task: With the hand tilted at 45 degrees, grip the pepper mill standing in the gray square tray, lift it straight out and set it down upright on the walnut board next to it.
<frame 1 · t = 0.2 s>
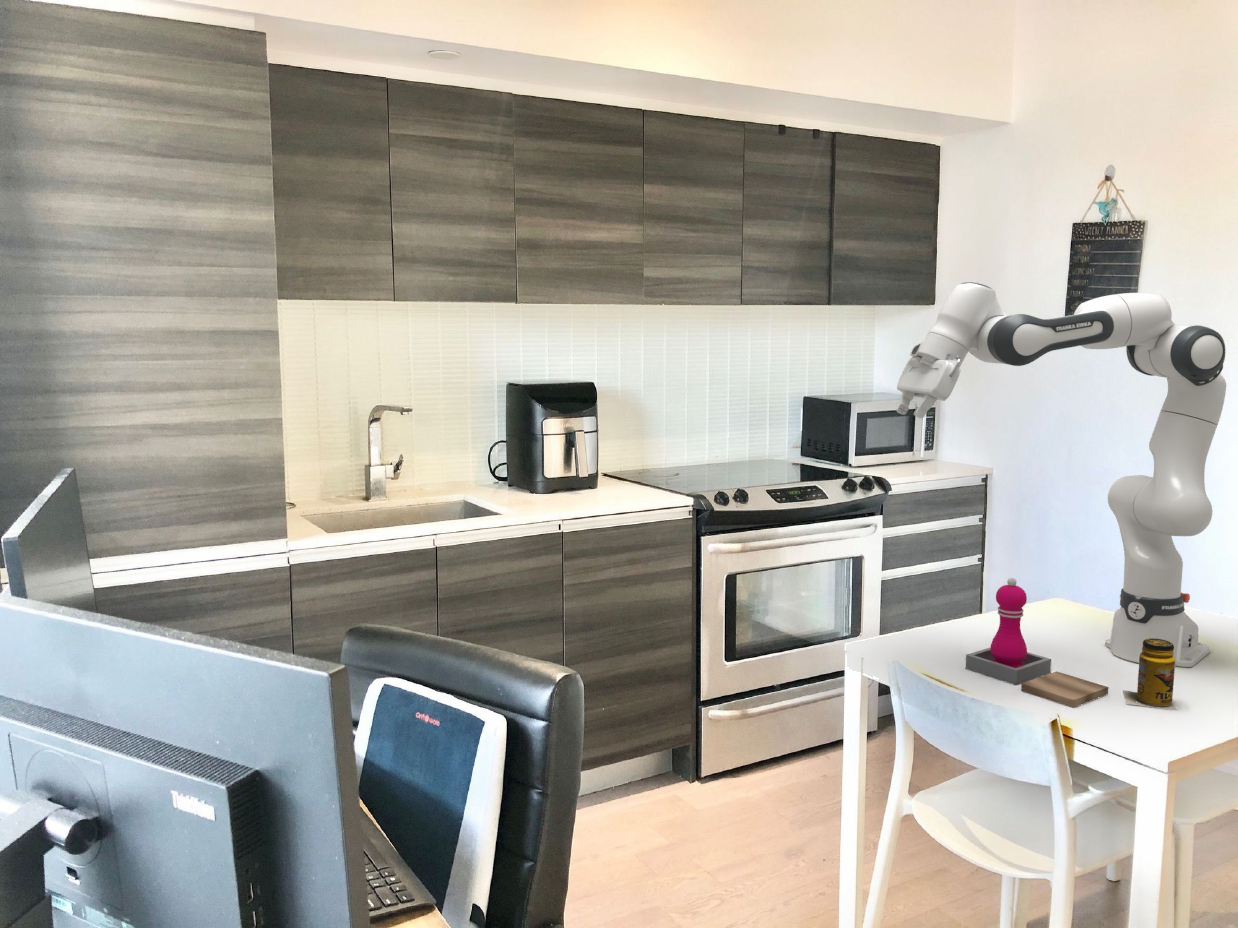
hand: (908, 415, 205), 54 cm above the table, tool tilted 30°, fingers open, 8 cm apart
pepper mill: (1007, 671, 209), resting in gray square tray
condiment: (1148, 702, 192), on the table
gray square tray: (1007, 670, 209), on the table
walnut board: (1064, 692, 197), on the table
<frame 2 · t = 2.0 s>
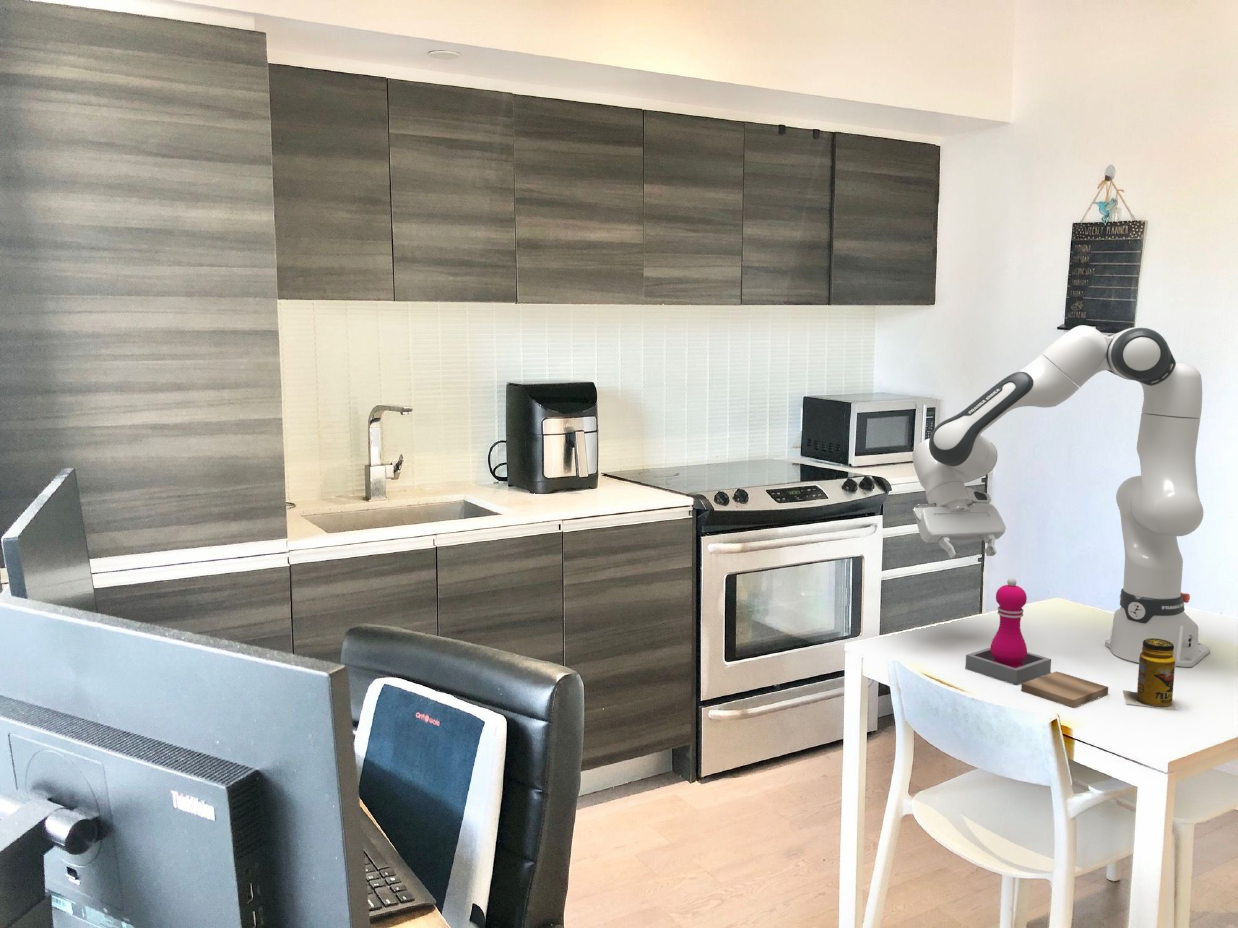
hand: (973, 555, 218), 22 cm above the table, tool tilted 45°, fingers open, 8 cm apart
nothing on the table moved.
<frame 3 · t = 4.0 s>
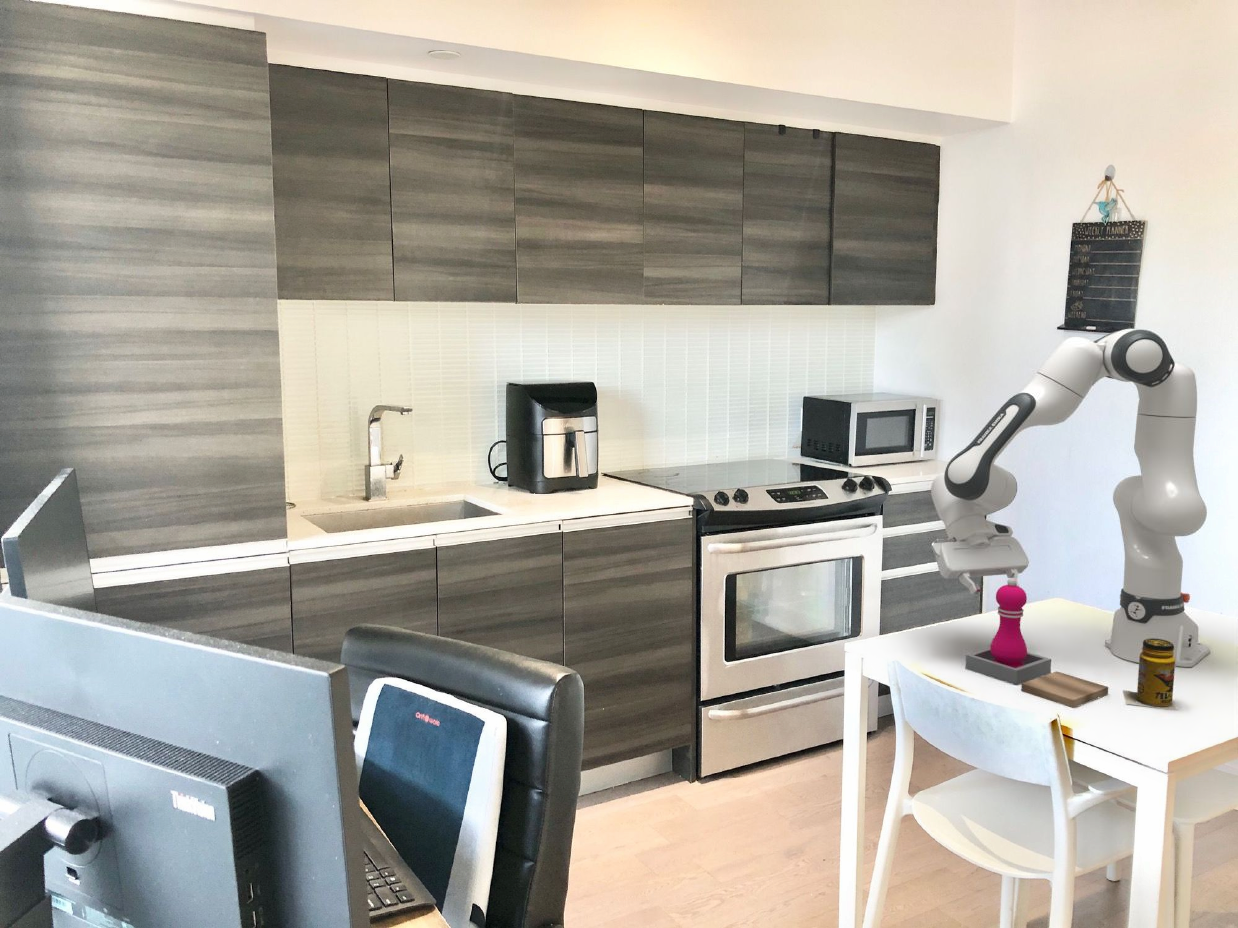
hand: (995, 591, 212), 16 cm above the table, tool tilted 45°, fingers open, 8 cm apart
nothing on the table moved.
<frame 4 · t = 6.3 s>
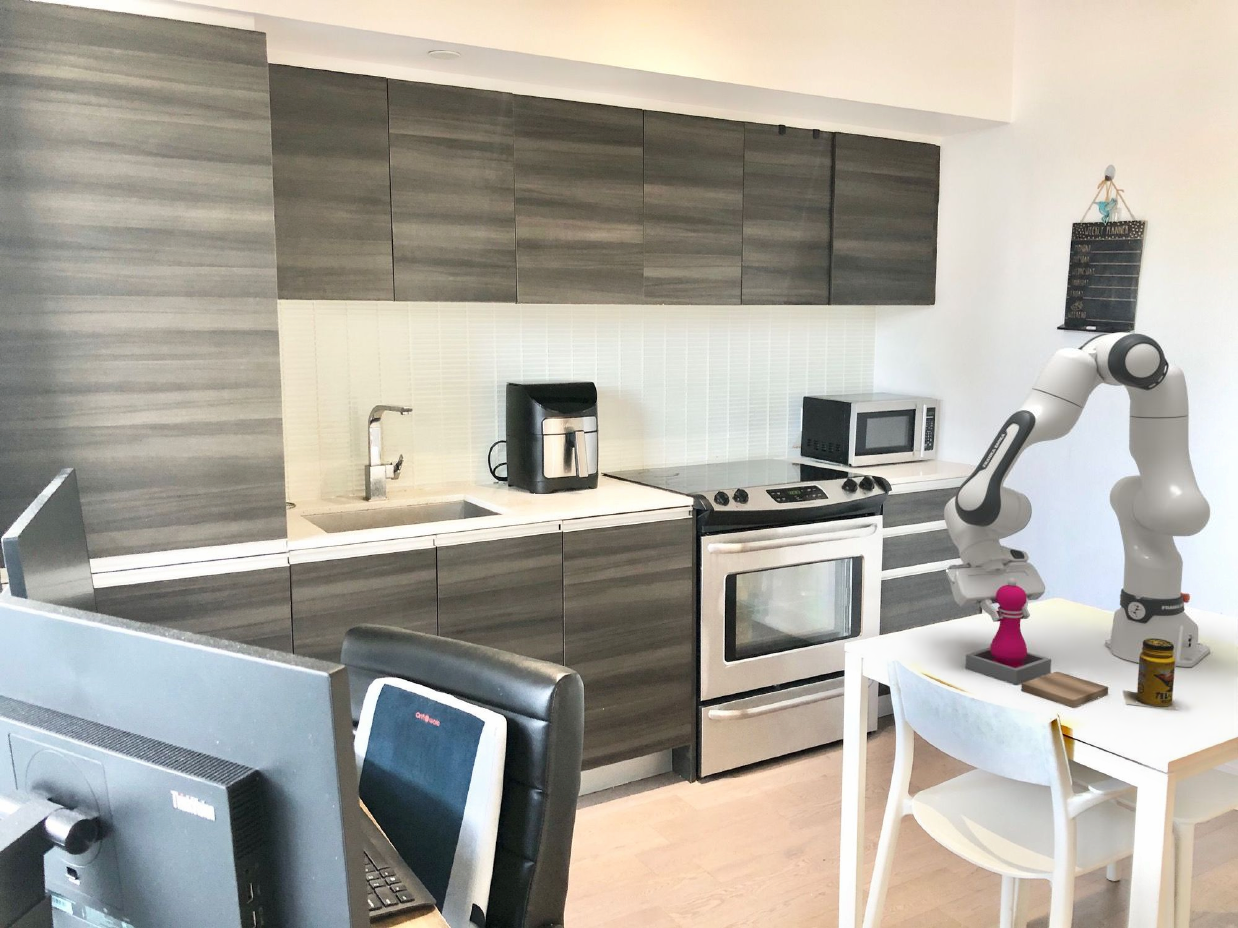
hand: (1012, 619, 207), 11 cm above the table, tool tilted 45°, fingers closed on pepper mill, 5 cm apart
pepper mill: (1007, 671, 209), resting in gray square tray, touching gripper
everything else where it was.
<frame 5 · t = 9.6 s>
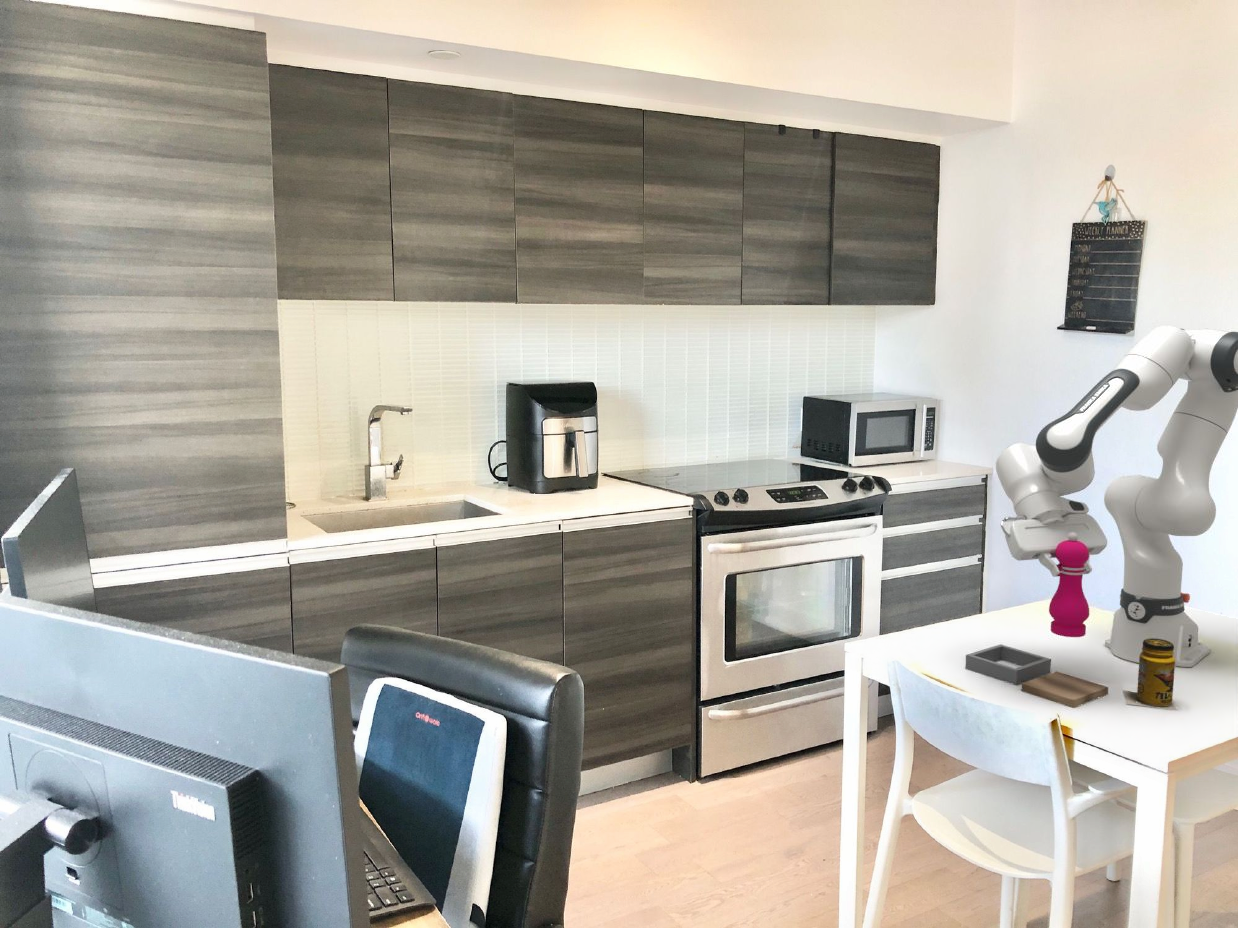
hand: (1073, 573, 193), 24 cm above the table, tool tilted 45°, fingers closed on pepper mill, 5 cm apart
pepper mill: (1067, 633, 195), point 12 cm above the table, touching gripper
everything else where it was.
when the fingers open (14 cm above the table, at t = 12.7 s): pepper mill stays where it is, resting on walnut board.
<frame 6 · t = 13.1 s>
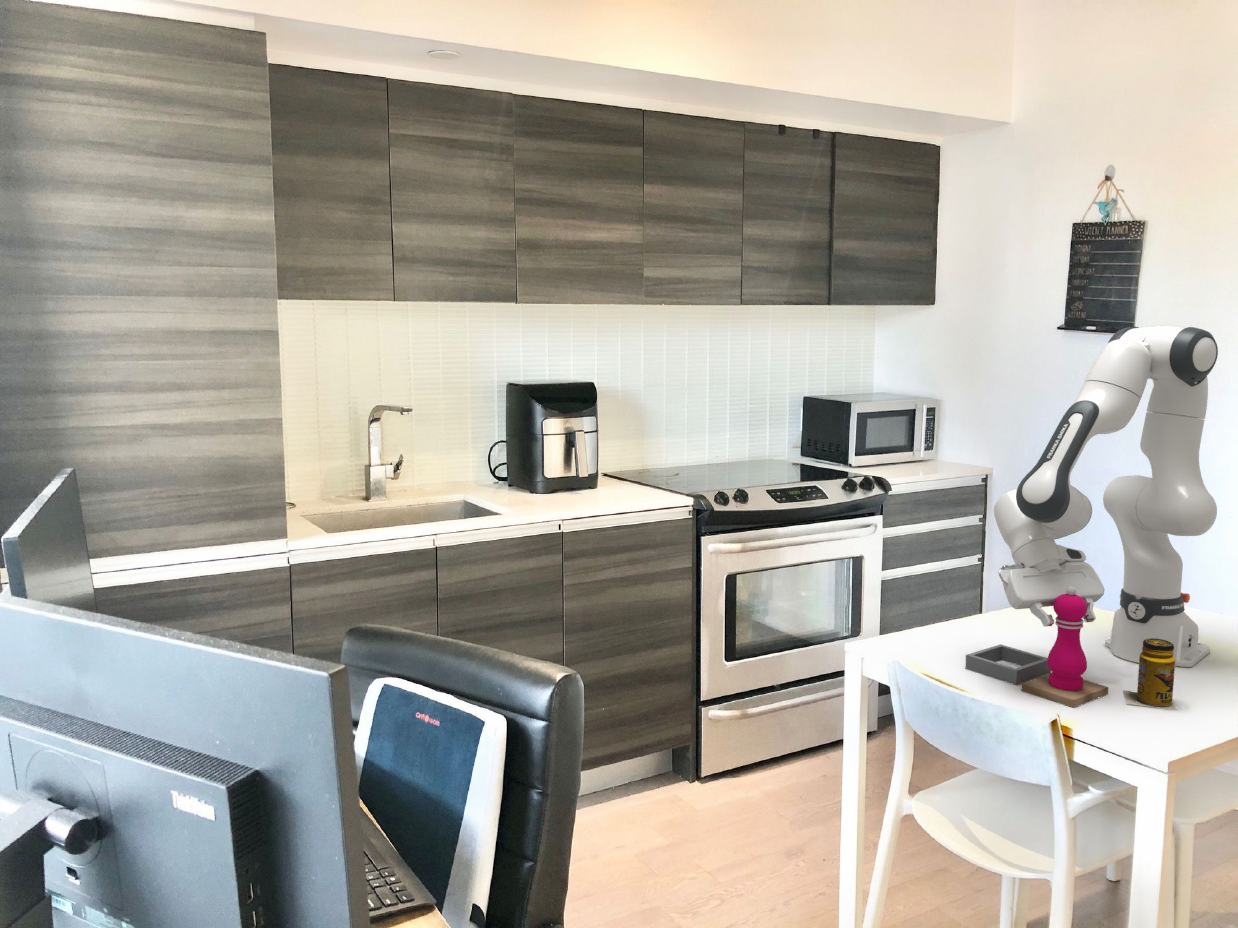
hand: (1070, 622, 194), 14 cm above the table, tool tilted 45°, fingers open, 8 cm apart
pepper mill: (1065, 685, 197), point 1 cm above the table, touching walnut board
everything else where it was.
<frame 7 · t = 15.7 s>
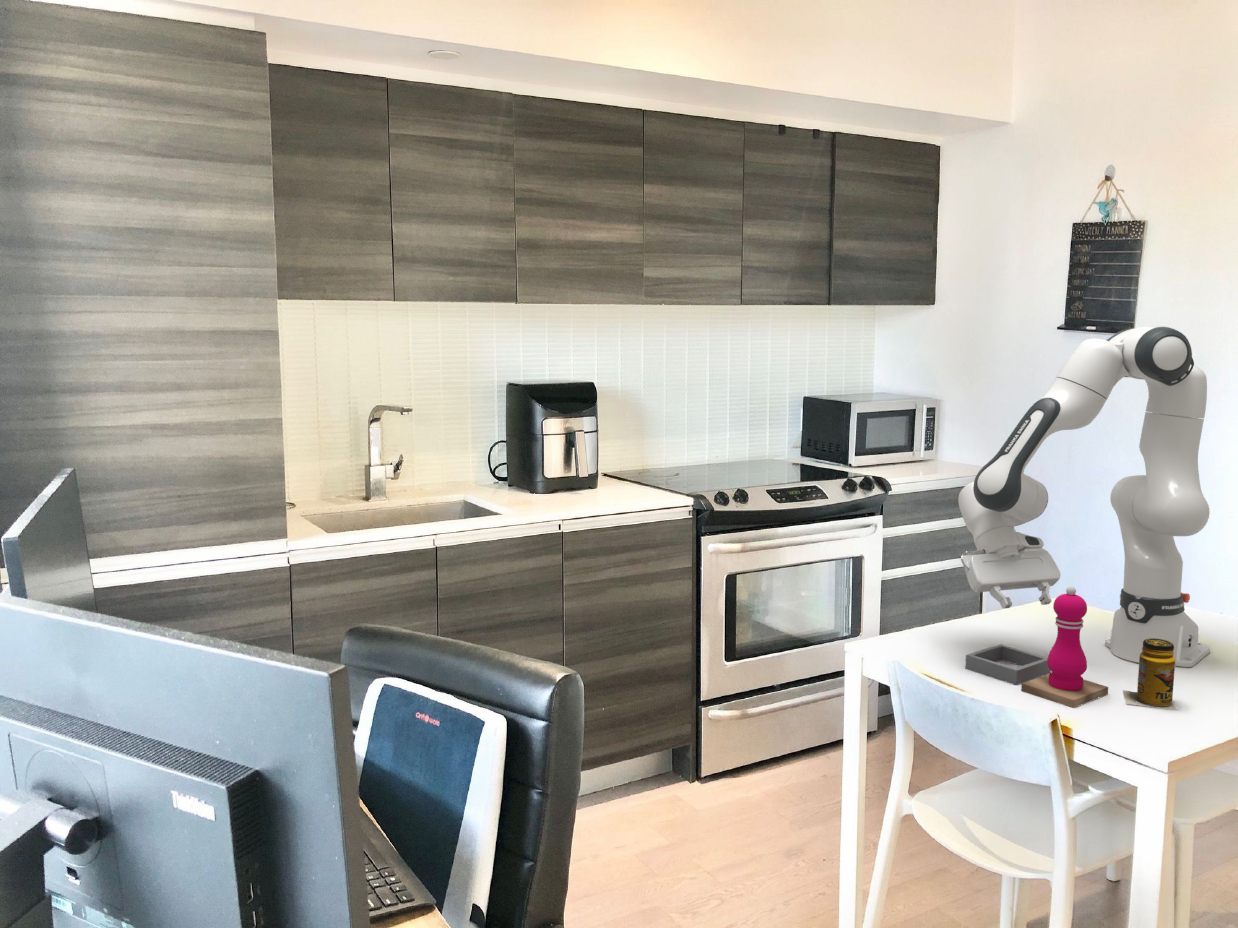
hand: (1027, 605, 206), 14 cm above the table, tool tilted 45°, fingers open, 8 cm apart
nothing on the table moved.
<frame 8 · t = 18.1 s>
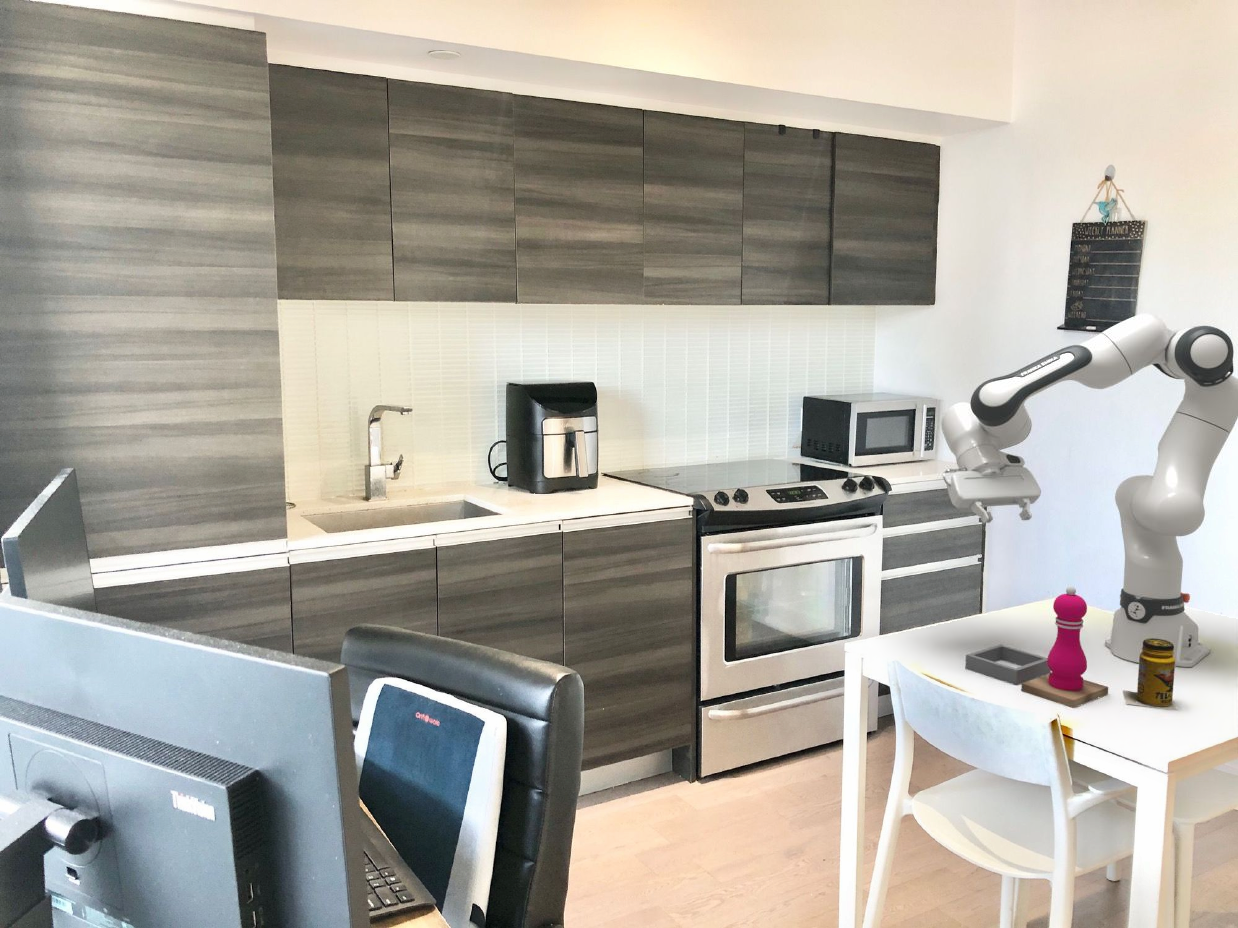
hand: (1008, 520, 209), 31 cm above the table, tool tilted 45°, fingers open, 8 cm apart
nothing on the table moved.
at the end: pepper mill inside the target area on the walnut board (0.2 cm from its centre), point 1.3 cm above the walnut board's base; pepper mill tilted 0°; the gripper is holding nothing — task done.
